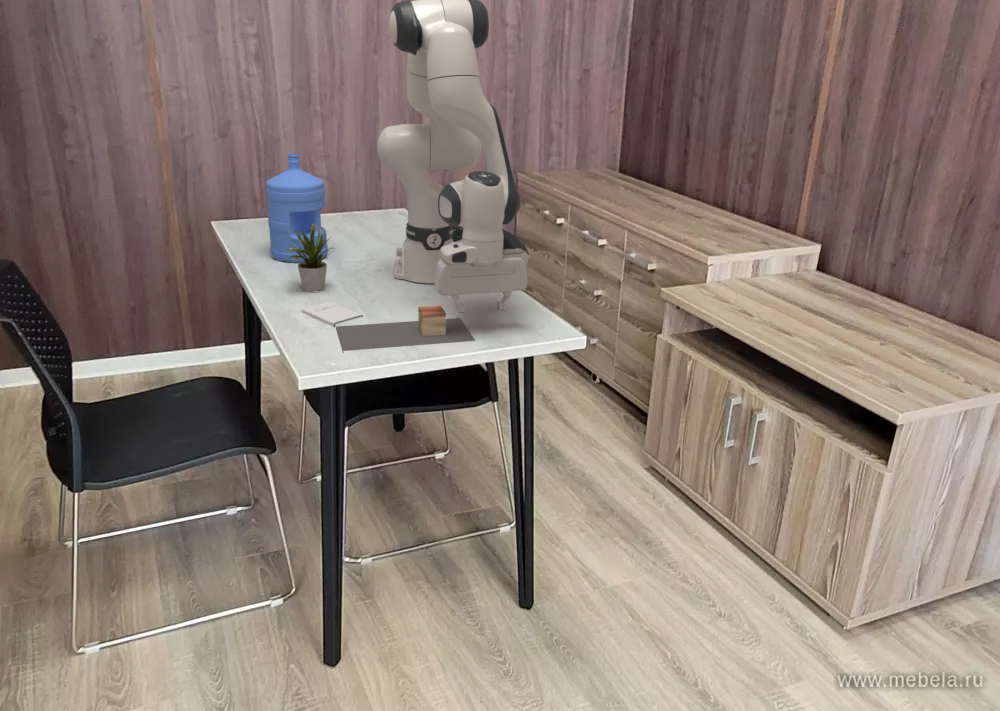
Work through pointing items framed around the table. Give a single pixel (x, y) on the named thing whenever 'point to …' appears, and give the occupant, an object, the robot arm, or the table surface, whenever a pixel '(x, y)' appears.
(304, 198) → the water jug
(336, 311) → the external hard drive
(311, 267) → the house plant
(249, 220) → the table surface
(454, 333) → the rubber mat
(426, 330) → the maple block
